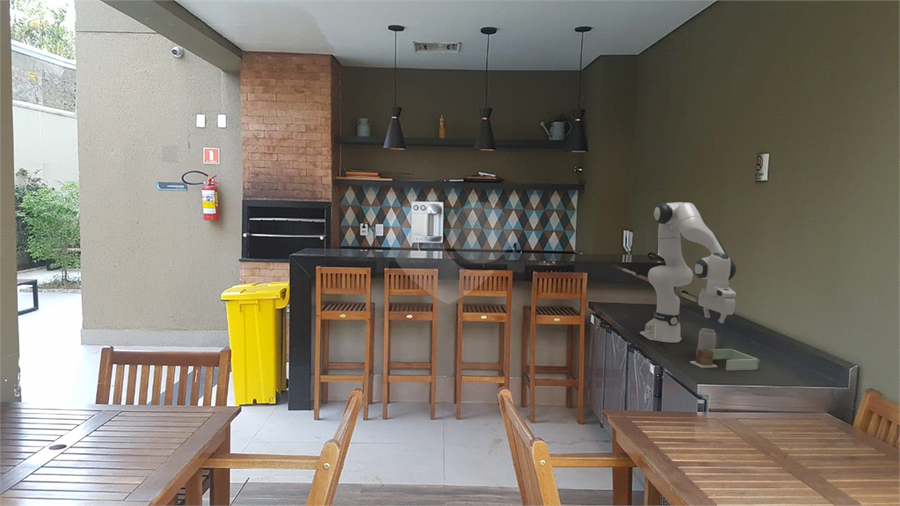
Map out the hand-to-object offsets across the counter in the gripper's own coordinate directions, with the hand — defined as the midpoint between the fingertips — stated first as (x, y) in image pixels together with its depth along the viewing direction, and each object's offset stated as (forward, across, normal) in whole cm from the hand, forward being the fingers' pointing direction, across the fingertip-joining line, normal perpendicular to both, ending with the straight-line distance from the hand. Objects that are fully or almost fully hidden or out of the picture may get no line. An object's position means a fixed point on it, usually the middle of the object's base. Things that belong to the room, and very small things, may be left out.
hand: (713, 320), depth 262 cm
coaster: (+20, +3, -5) cm, 20 cm away
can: (+20, -14, +8) cm, 26 cm away
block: (+19, +3, -5) cm, 20 cm away
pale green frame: (+20, +3, +8) cm, 21 cm away
